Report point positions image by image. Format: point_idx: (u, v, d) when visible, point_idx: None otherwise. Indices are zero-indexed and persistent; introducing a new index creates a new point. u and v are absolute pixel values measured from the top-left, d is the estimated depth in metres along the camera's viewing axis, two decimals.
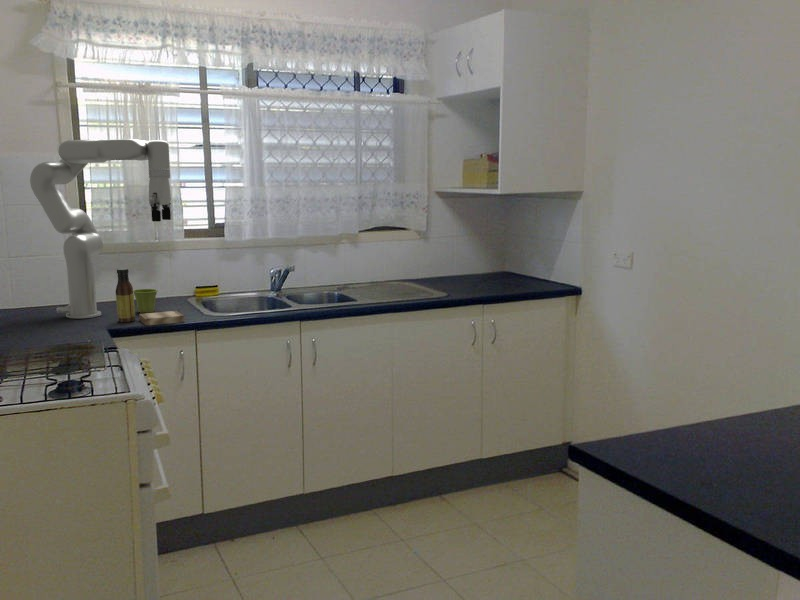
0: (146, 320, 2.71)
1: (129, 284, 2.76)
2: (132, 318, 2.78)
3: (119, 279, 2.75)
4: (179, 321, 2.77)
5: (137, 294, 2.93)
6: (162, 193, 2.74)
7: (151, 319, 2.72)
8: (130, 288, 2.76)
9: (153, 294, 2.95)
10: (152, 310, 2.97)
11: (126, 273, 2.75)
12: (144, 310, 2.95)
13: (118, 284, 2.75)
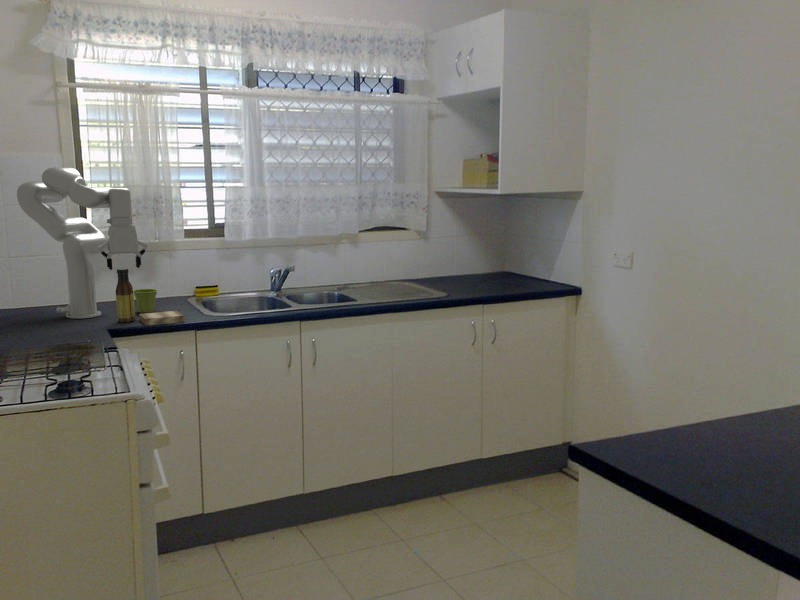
0: (146, 320, 2.71)
1: (129, 284, 2.76)
2: (132, 318, 2.78)
3: (119, 279, 2.75)
4: (179, 321, 2.77)
5: (137, 294, 2.93)
6: None
7: (151, 319, 2.72)
8: (130, 288, 2.76)
9: (153, 294, 2.95)
10: (152, 310, 2.97)
11: (126, 273, 2.75)
12: (144, 310, 2.95)
13: (118, 284, 2.75)
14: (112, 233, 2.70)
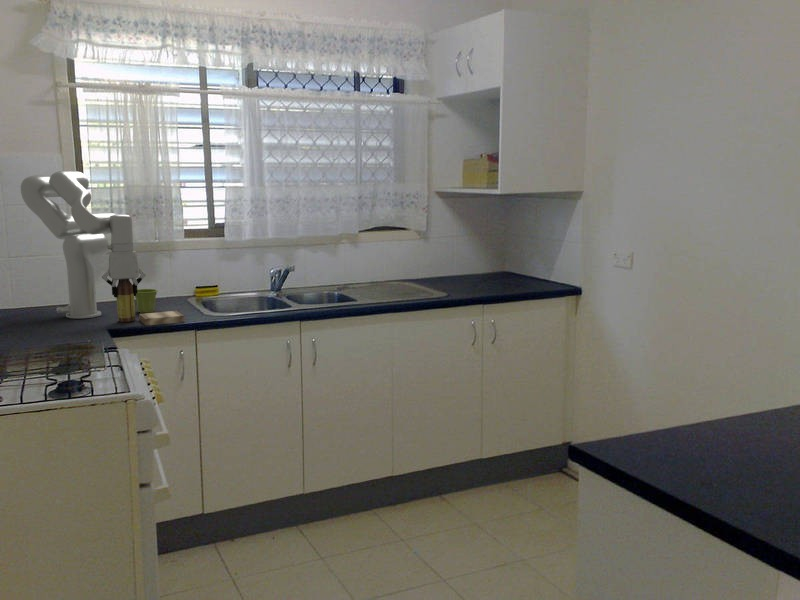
0: (146, 320, 2.71)
1: (130, 284, 2.76)
2: (132, 318, 2.78)
3: (120, 279, 2.75)
4: (179, 321, 2.77)
5: (137, 294, 2.93)
6: None
7: (151, 319, 2.72)
8: (131, 288, 2.76)
9: (153, 294, 2.95)
10: (152, 310, 2.97)
11: None
12: (144, 310, 2.95)
13: (119, 284, 2.75)
14: (113, 259, 2.71)
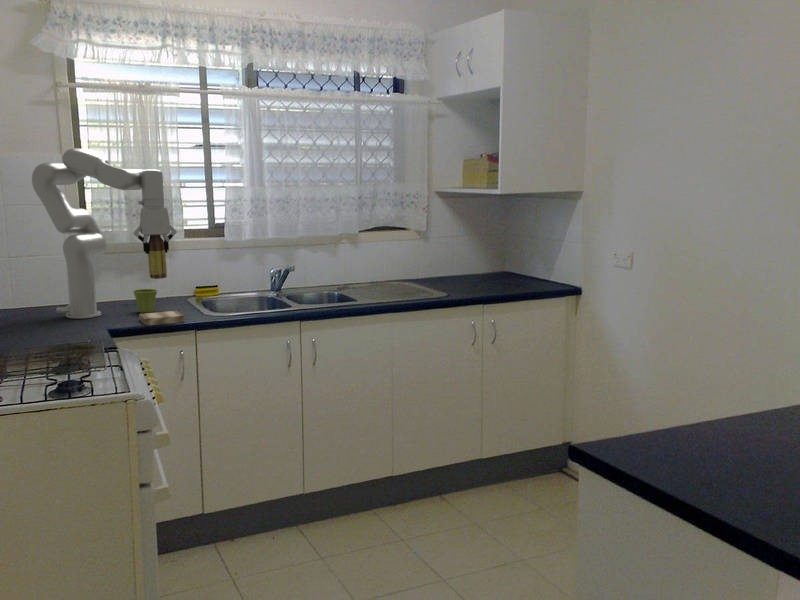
0: (146, 320, 2.71)
1: (161, 240, 2.74)
2: (164, 275, 2.75)
3: (151, 235, 2.72)
4: (179, 321, 2.77)
5: (137, 294, 2.93)
6: None
7: (151, 319, 2.72)
8: (162, 244, 2.73)
9: (153, 294, 2.95)
10: (152, 310, 2.97)
11: None
12: (144, 310, 2.95)
13: (150, 240, 2.72)
14: (144, 215, 2.69)
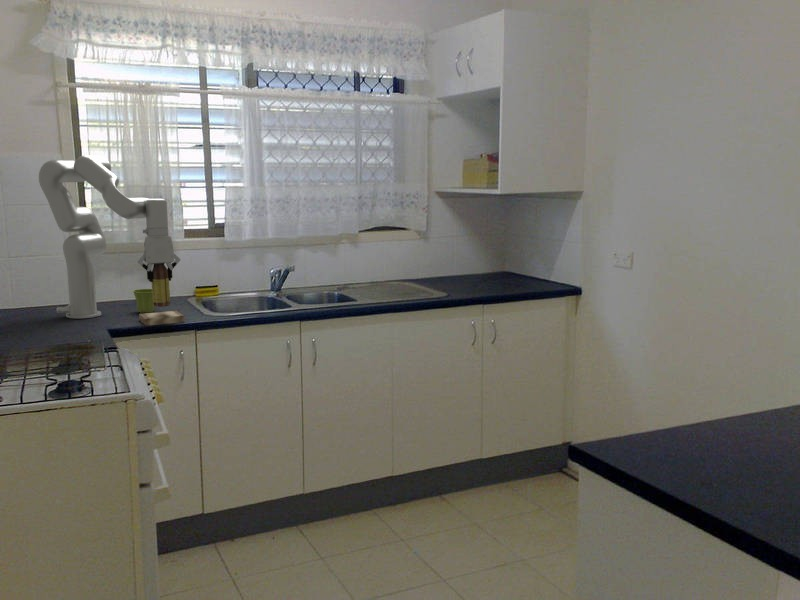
0: (146, 320, 2.71)
1: (165, 268, 2.75)
2: (167, 302, 2.77)
3: None
4: (179, 321, 2.77)
5: (137, 294, 2.93)
6: None
7: (151, 319, 2.72)
8: (166, 272, 2.75)
9: None
10: (152, 310, 2.97)
11: None
12: (144, 310, 2.95)
13: (154, 268, 2.74)
14: (149, 243, 2.71)
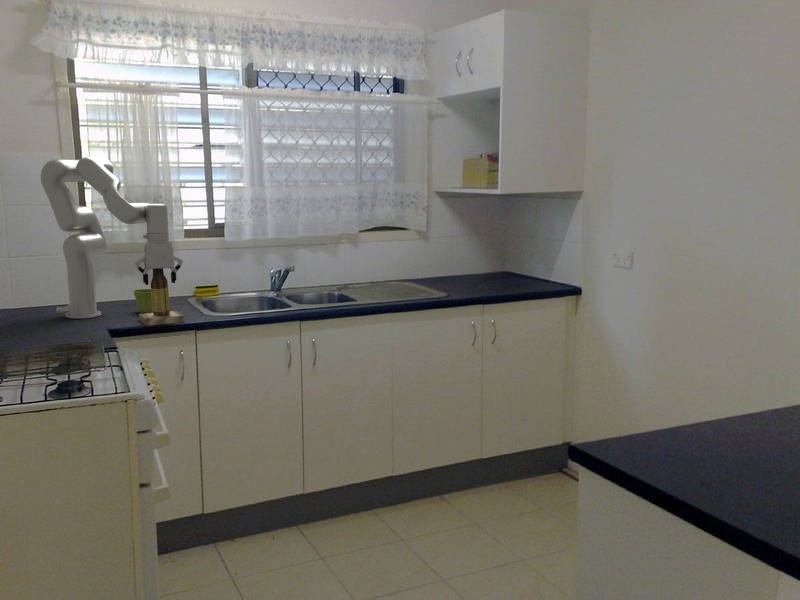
0: (146, 320, 2.71)
1: (164, 277, 2.76)
2: (167, 312, 2.78)
3: (154, 272, 2.75)
4: (179, 321, 2.77)
5: (137, 294, 2.93)
6: None
7: (151, 319, 2.72)
8: (165, 281, 2.76)
9: None
10: (152, 310, 2.97)
11: None
12: (144, 310, 2.95)
13: (153, 277, 2.75)
14: (149, 249, 2.71)
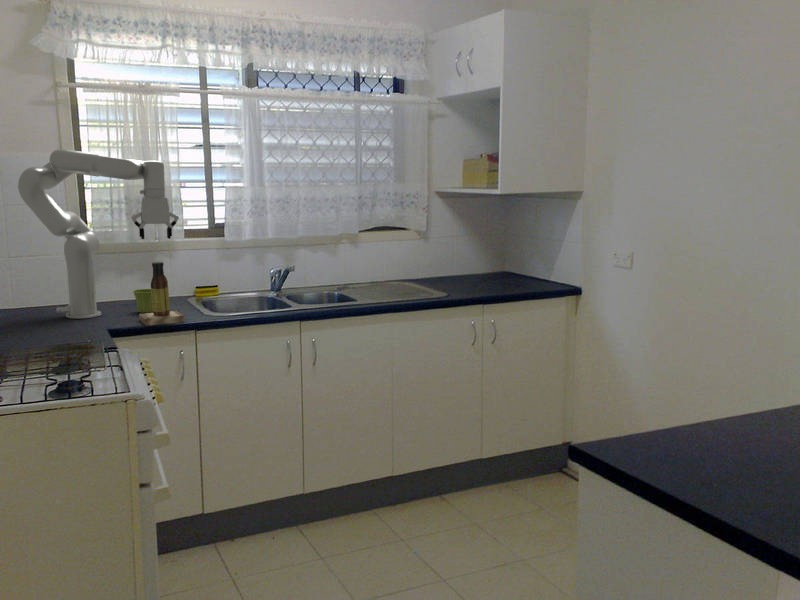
0: (146, 320, 2.71)
1: (164, 277, 2.76)
2: (167, 312, 2.78)
3: (154, 272, 2.75)
4: (179, 321, 2.77)
5: (137, 294, 2.93)
6: None
7: (151, 319, 2.72)
8: (165, 281, 2.76)
9: None
10: (152, 310, 2.97)
11: (161, 266, 2.75)
12: (144, 310, 2.95)
13: (153, 277, 2.75)
14: (145, 204, 2.80)
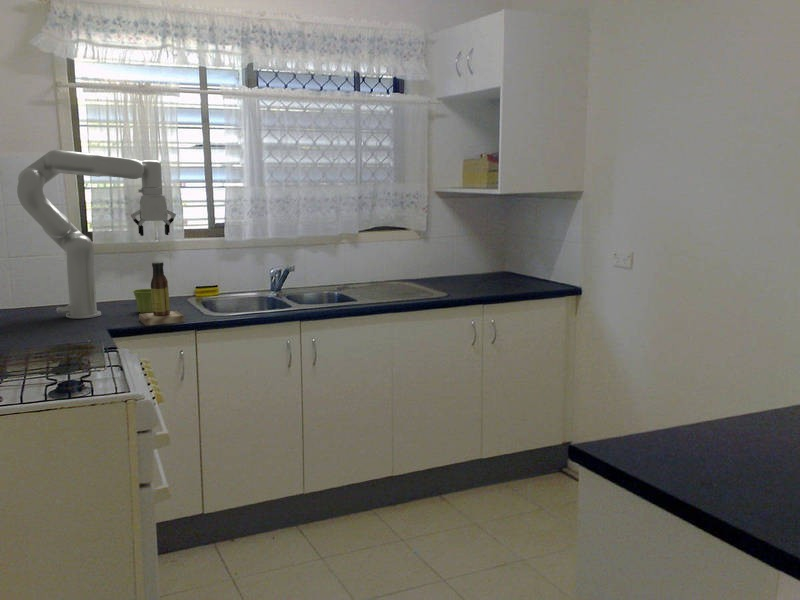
0: (146, 320, 2.71)
1: (164, 277, 2.76)
2: (167, 312, 2.78)
3: (154, 272, 2.75)
4: (179, 321, 2.77)
5: (137, 294, 2.93)
6: None
7: (151, 319, 2.72)
8: (165, 281, 2.76)
9: None
10: (152, 310, 2.97)
11: (161, 266, 2.75)
12: (144, 310, 2.95)
13: (153, 277, 2.75)
14: (144, 202, 2.91)
